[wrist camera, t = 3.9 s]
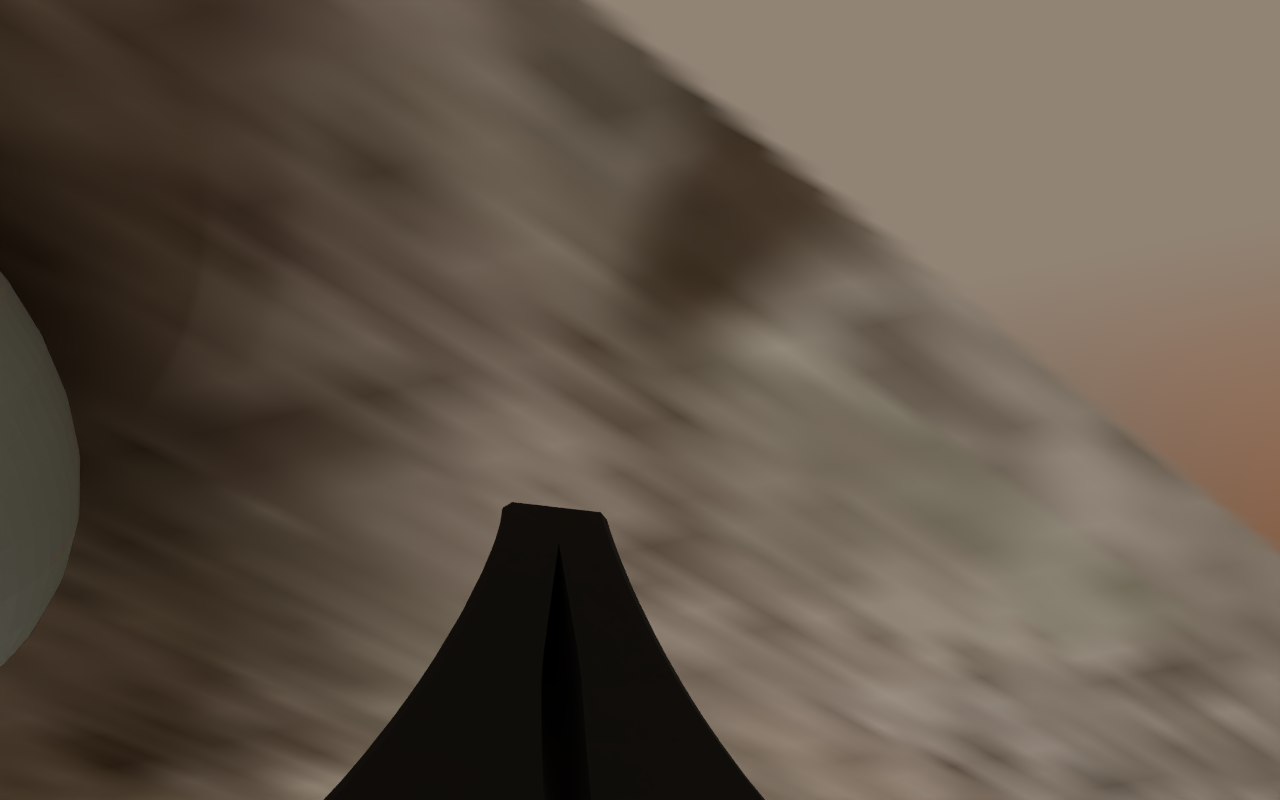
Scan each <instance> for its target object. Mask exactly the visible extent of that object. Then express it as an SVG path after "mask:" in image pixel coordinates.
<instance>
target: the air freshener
mask: <svg viewBox="0 0 1280 800" xmlns="http://www.w3.org/2000/svg"><path fill="white" fill-rule="evenodd" d="M79 509H80V454H79V448H78V443H77V438H76V434H75V429H74V425H73V420H72V415H71V411H70V406H69V401H68V397H67V394H66V392H65V389H64V387H63V384H62V382H61V380H60V377H59V375H58V373H57V370H56V368H55V366H54V363H53V361H52V358H51V356H50V354H49V351H48V349H47V347H46V344H45V342H44V339H43V337H42V335H41V333H40V331H39V330H38V328H37V327H36V325H35V323H34V322H33V320H32V319H31V317H30V315H29V314H28V312H27V311H26V309H25V307H24V306H23V304H22V303H21V301H20V299H19V298H18V296H17V295H16V293H15V291H14V290H13V288H12V287H11V285H10V283H9V282H8V280H7V279H6V278H5V276H4V275H3V274H2V273H1V272H0V667H1V666H2V665H3V664H4V663H5V662H6V661H7V660H8V659H9V658H10V657H11V656H12V655H13V654H14V653H15V651H16V650H17V649H18V648H19V647H20V646H21V645H22V644H23V643H24V641H25V640H26V639H27V638H28V637H29V636H30V634H31V632H32V631H33V629H34V628H35V626H36V625H37V623H38V621H39V620H40V618H41V616H42V614H43V613H44V611H45V609H46V608H47V606H48V604H49V602H50V601H51V599H52V597H53V595H54V594H55V592H56V590H57V588H58V587H59V585H60V582H61V580H62V578H63V575H64V573H65V570H66V566H67V562H68V558H69V555H70V551H71V547H72V543H73V539H74V536H75V532H76V528H77V524H78V520H79Z"/></svg>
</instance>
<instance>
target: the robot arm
mask: <svg viewBox="0 0 1280 800" xmlns="http://www.w3.org/2000/svg"><path fill="white" fill-rule="evenodd" d="M324 800H765V799H764V798H763V797H762V796H761V794H760V793H759V792H758V791H757V790H756V788H755V787H754V786H753V785H752V784H751V783H750V781H749V780H748V779H747V777H746V776H745V775H744V774H743V772H742V771H741V769H740V768H739V767H738V765H737V764H736V763H735V761H734V760H733V759H732V757H731V756H730V755H729V753H728V752H727V751H726V749H725V748H724V747H723V745H722V744H721V742H720V741H719V739H718V738H717V736H716V735H715V734H714V732H713V731H712V729H711V728H710V726H709V725H708V723H707V722H706V720H705V719H704V718H703V716H702V714H701V713H700V711H699V710H698V708H697V707H696V705H695V704H694V702H693V700H692V699H691V697H690V696H689V694H688V692H687V691H686V689H685V687H684V686H683V684H682V682H681V681H680V679H679V677H678V675H677V674H676V672H675V670H674V668H673V667H672V665H671V663H670V661H669V660H668V658H667V656H666V654H665V652H664V651H663V649H662V647H661V645H660V643H659V641H658V639H657V638H656V636H655V634H654V631H653V629H652V627H651V625H650V623H649V621H648V619H647V617H646V615H645V613H644V611H643V609H642V607H641V605H640V603H639V601H638V599H637V597H636V594H635V592H634V590H633V588H632V586H631V583H630V581H629V579H628V576H627V574H626V571H625V569H624V567H623V564H622V562H621V559H620V557H619V554H618V552H617V549H616V546H615V543H614V541H613V538H612V535H611V532H610V529H609V525H608V522H607V519H606V518H605V517H604V516H603V515H602V513H601V512H593V511H584V510H576V509H567V508H558V507H549V506H540V505H532V504H523V503H514V502H512V503H510V504H508V505H507V506H505V507H503V509H502V516H501V522H500V526H499V529H498V533H497V536H496V539H495V542H494V545H493V547H492V550H491V552H490V555H489V557H488V560H487V562H486V564H485V567H484V569H483V571H482V573H481V575H480V577H479V579H478V581H477V583H476V585H475V587H474V589H473V591H472V593H471V595H470V597H469V599H468V601H467V603H466V605H465V607H464V609H463V611H462V613H461V615H460V616H459V618H458V620H457V622H456V623H455V625H454V627H453V628H452V630H451V632H450V633H449V635H448V637H447V638H446V640H445V642H444V643H443V645H442V647H441V648H440V650H439V652H438V653H437V655H436V656H435V658H434V660H433V661H432V663H431V664H430V666H429V667H428V669H427V670H426V672H425V673H424V675H423V676H422V678H421V679H420V681H419V682H418V684H417V685H416V687H415V688H414V689H413V691H412V692H411V694H410V695H409V696H408V698H407V699H406V701H405V702H404V703H403V705H402V706H401V707H400V709H399V710H398V712H397V713H396V714H395V716H394V717H393V718H392V720H391V721H390V722H389V723H388V725H387V726H386V727H385V728H384V730H383V731H382V732H381V733H380V735H379V736H378V737H377V738H376V740H375V741H374V742H373V743H372V745H371V746H370V747H369V749H368V750H367V751H366V752H365V754H364V755H363V756H362V757H361V758H360V760H359V761H358V762H357V763H356V764H355V765H354V767H353V768H352V769H351V770H350V771H349V773H348V774H347V775H346V776H345V777H344V778H343V779H342V781H341V782H340V783H339V784H338V785H337V786H336V787H335V788H334V789H333V790H332V791H331V792H330V793H329V795H328V796H327V797H326V798H325V799H324Z"/></svg>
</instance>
